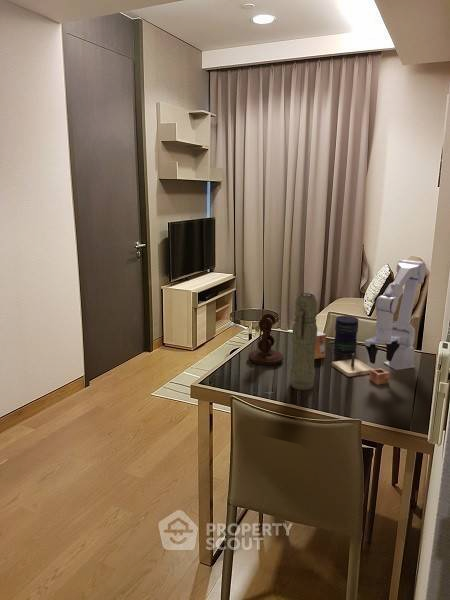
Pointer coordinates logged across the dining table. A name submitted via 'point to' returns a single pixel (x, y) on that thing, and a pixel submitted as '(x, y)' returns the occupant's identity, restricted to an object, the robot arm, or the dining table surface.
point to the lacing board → (352, 367)
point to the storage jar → (346, 335)
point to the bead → (379, 376)
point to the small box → (320, 345)
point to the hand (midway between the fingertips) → (380, 361)
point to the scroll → (266, 344)
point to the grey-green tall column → (304, 342)
